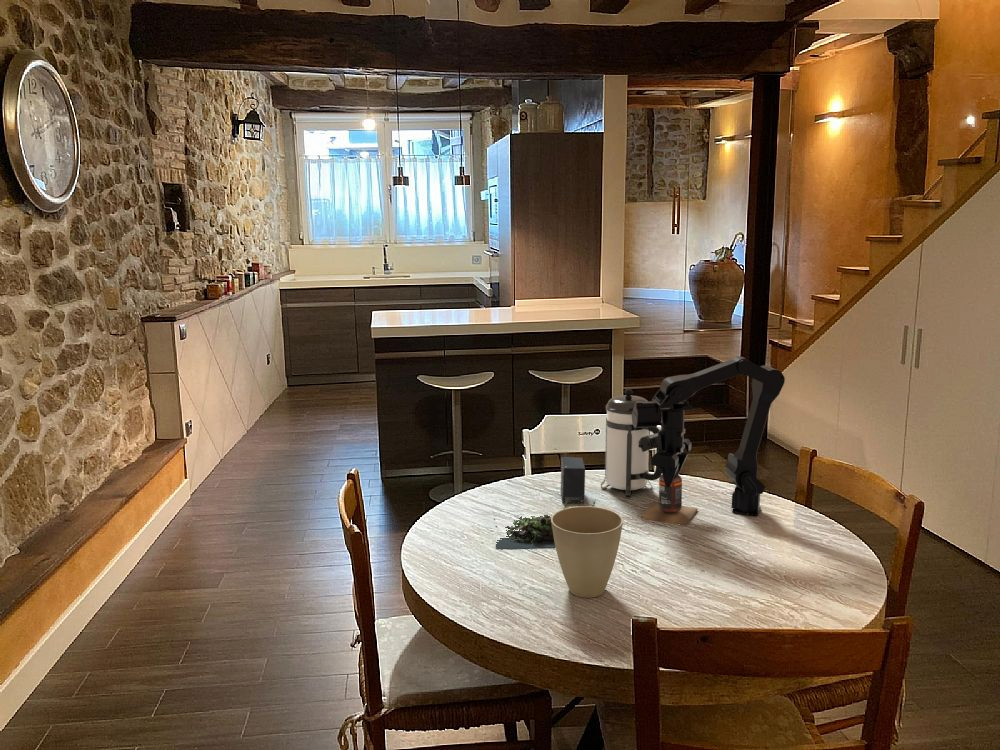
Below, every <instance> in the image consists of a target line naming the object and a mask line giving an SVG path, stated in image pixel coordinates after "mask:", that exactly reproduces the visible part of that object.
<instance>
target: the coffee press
mask: <svg viewBox="0 0 1000 750" xmlns="http://www.w3.org/2000/svg"><path fill="white" fill-rule="evenodd" d="M633 393H634V392H633V390H632V389H631V388H629V387H628V388H626V389H625V390H624V394H625V395H624V394H623V395H617V396H614V397H612V398H610V399H609V400H608V402H607V404H605V410H606V418H605V435H606V442H605V453H604V454H605V457H604V458H605V459H604V462H605V463H604V479H603V481H602V482H601V484H600V488H601V490H605V489H607V488H608V487H611V488H614V489H617V490H623V491H625V498H631V497H632V491H636V490H639V489H642V488H646V489H647V490H648V491H651V490H653V485H652V483H651V482H650V481H657V480H658V479H659V477H660V476H661V475H662V471H661V469H660V468H659V467H658V466H655V471H654V473H653V474H652V473H650V450H647V451H645V452H642V449H641V448H639V446H638V445H639V440H640V439H641V437H644V436H648V435H651V432H652V434H656V433H658V432H659V431H660V430H661V429H660V428H659V427H658V426H657V427H644V428H634V426H633V423H632V412H633V407H634V406H635V401H641V402H649V401H648V400H647V399H646V398H644V397H642V396H639V395H633ZM655 449H656V452H655V454H656V453H657V452H658V451H659V450H657V448H655ZM660 452H664V451H663V450H662V451H660ZM605 482H606V483H607V484H606V485H605V486H603V485H604V484H605ZM648 483H649V485H650V487H647V484H648Z"/></svg>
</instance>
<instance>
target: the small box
mask: <svg viewBox="0 0 1000 750" xmlns="http://www.w3.org/2000/svg"><path fill="white" fill-rule="evenodd" d="M560 460H561V462H560V464H561V465H560V466H561V467H560V468H561V471H560V473H561V474H560V490H559V491H560V497H561V502H562V504H565V502H566V500H567V504H585V490H586V488H585V487H586V467H585V463H584V460H583V457H578V456H577V457H573V456H571V457H570V456H561V457H560Z"/></svg>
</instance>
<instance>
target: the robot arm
mask: <svg viewBox="0 0 1000 750" xmlns="http://www.w3.org/2000/svg"><path fill="white" fill-rule="evenodd" d="M739 375H745V376H747V377H749V378H752V381H751V390H752V400H751V405H750V408H749V410H748V411H749V412H748V415H747V419H746V422H745V426H744V429H743V433H742V437H741V439H740V442H739V443H740V444H739V446H738V449H737V450H736V451H735V452H734V453H731V452H729V453H728V455H727V462H726V463H725V465H724V468H726V469H725V471H726V473H725V474H726V475H727V476H728V478H729V479H730V480H731V482H732V483H733V485H735V488H734V490H733V492H732V493H731V509H732V511H731V513H734V514H741V515H745V516H746V515H747V516H751V517H752V516H753V517H758V516H759V513H760V512H761V511H760V510H761V506H760V503H761V495H762V494H763V493H764V490H766V489H765V488H766V486H765V485H764V484H763V483H762V482H761V481H760V480H759V479H758V478H757V477H758V468H759V467H758V457H757V455H758V450H759V447H760V443H761V442H762V441H761V440H762V438H763V437H762V436H763V434H764V430H765V426H766V423H767V420H768V417H769V413H770V408H771V406H772V404H773V402H774V401H775V400H776V398H777V397H778V396H779V395H780V393H781V391H782V389H783V387H784V386H785V382H786V378H785V375H784V374H783V372H782V371H781V370H779V369H776V368H774V367H772V366H769V365H765V364H764V365H758V364H756V363H754V362H752V361H750V360H749V359H747V358H746V357H743V356H739V355H737V356H735V357H733V358H731V359H728V360H725V361H723V362H721V363H720V362H719V363H718V364H715V365H712V366H710V367H707V368H705V369H702V370H699V371H697V372H694V373H689V374H679V375H673V376H668V377H666V378H664V379H663V380H662V381H661V383H660V386H659V389H658V391H656V393H655V394H654V396H653V397H652V398H651V401H648V402H641V401H635V406H634V407H633V412H632V423H633V426H634V428H644V427H657V428H658V426H660V425H661V427H660V429H659V430H660V431H659V432H658V433H656V434H654V433H652V434H650V435H648V436H644V437H641V439H640V440H639V445H638V446H639V448H641V449H642V452H645V451H647V450H649V451H650V450H654V449H657V450H659V451H658V452H657V453H656V452H655V453H654V454H653V455H652V456H651V457H650V465H651V466H652V467H656V466H658V467H659V468H660V469H661V471H662V474H661V475H663V478H664V482H665V486H666V487H670V486H671V484H672V481H673V479H674V476H675V474H676V472H677V469H678V472H679V473H678V475H679V474H680V473H681V469H682V468H683V466H684V465H685V464H684V463H685V462H686V459H687V457H688V456H689V452H691V450H692V442H691V440H690V439H689V438H685V437H684V435H685V434H686V428H685V411H692V410H693V406H691V405H690V404H689V402H688V399H689V398H691V397H693V396H694V395H695V394H696V393H697V392H699V391H701V390H702V389H705V388H708V387H710V386H713V385H715V384H718V383H721V382H723V381H726V380H729V379H731V378H734V377H737V376H739ZM684 449H685V450H686V451H685V452H684ZM662 450H663V451H664V452H660V451H662Z"/></svg>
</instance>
